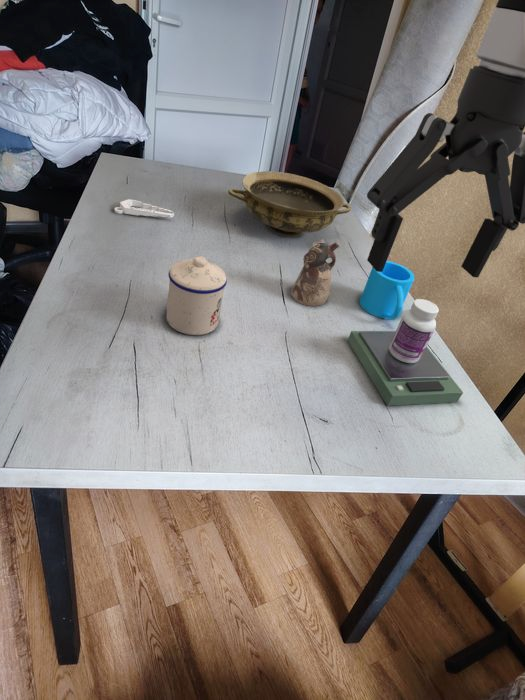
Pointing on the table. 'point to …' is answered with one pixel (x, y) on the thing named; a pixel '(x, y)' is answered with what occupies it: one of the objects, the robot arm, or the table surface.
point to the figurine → (315, 275)
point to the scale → (403, 390)
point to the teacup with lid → (195, 296)
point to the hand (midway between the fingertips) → (423, 269)
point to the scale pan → (397, 369)
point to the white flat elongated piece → (154, 211)
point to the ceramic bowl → (290, 202)
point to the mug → (387, 291)
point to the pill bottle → (414, 331)
